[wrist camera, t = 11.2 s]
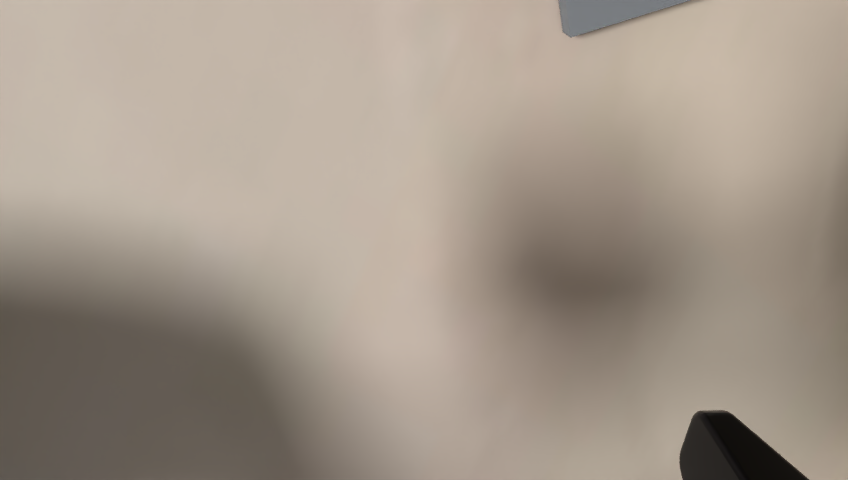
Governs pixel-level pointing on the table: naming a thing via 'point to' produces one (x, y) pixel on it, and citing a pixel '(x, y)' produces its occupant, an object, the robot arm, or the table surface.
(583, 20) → the grey mat
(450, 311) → the table surface
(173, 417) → the table surface
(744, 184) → the table surface
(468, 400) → the table surface
